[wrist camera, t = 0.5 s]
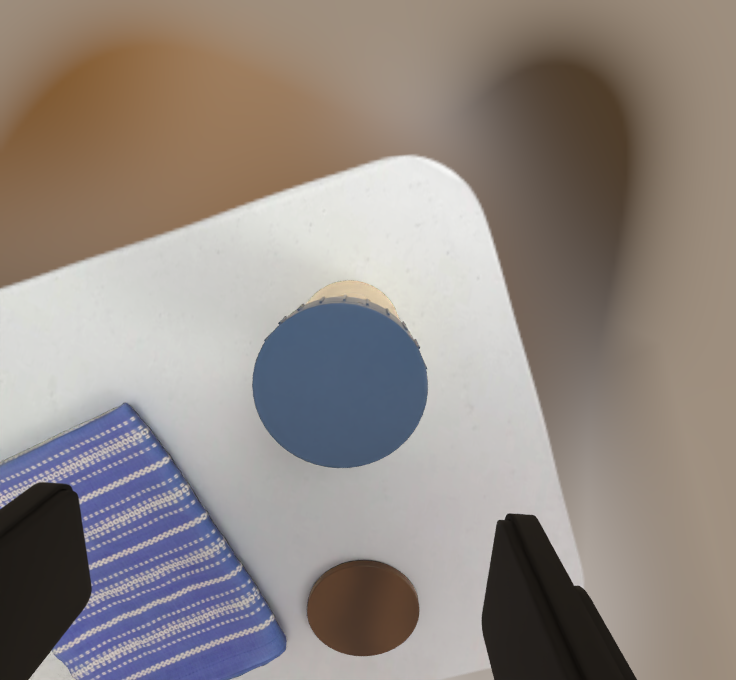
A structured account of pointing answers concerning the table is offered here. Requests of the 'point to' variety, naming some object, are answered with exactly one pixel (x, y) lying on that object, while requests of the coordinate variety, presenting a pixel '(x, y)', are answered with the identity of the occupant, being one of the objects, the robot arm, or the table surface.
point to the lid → (340, 382)
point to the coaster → (363, 608)
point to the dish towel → (147, 561)
